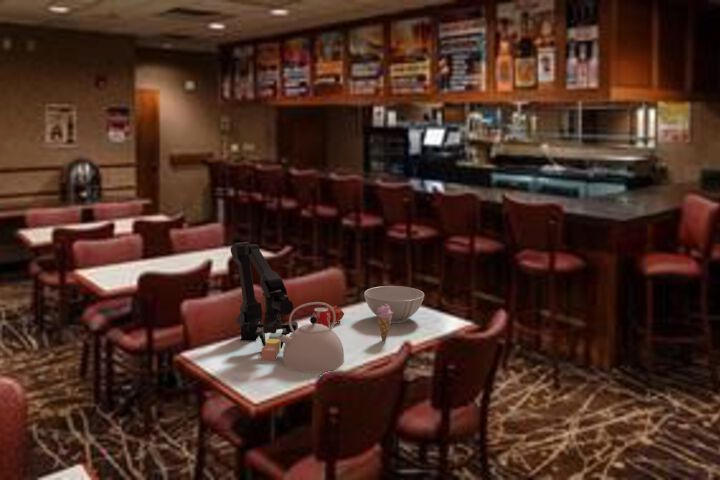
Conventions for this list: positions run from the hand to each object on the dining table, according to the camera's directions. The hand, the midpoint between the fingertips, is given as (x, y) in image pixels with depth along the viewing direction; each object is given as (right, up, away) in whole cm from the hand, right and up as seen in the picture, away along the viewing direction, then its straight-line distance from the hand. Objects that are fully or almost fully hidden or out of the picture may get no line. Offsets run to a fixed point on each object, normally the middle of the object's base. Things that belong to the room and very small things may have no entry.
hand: (273, 348), depth 262 cm
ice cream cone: (+44, +1, +13) cm, 46 cm away
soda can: (+18, +1, +16) cm, 24 cm away
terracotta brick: (0, -3, -8) cm, 8 cm away
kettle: (+15, -4, -11) cm, 19 cm away
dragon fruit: (+21, +5, +37) cm, 43 cm away
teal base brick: (0, 0, +8) cm, 8 cm away
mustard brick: (0, -1, 0) cm, 1 cm away
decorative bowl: (+49, +6, +43) cm, 65 cm away
